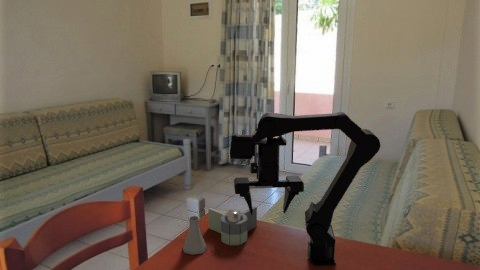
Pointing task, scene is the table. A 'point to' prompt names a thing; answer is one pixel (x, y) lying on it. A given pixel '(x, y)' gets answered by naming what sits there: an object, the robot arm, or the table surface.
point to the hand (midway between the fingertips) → (267, 213)
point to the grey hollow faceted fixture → (239, 223)
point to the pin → (233, 215)
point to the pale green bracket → (227, 239)
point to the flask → (194, 238)
